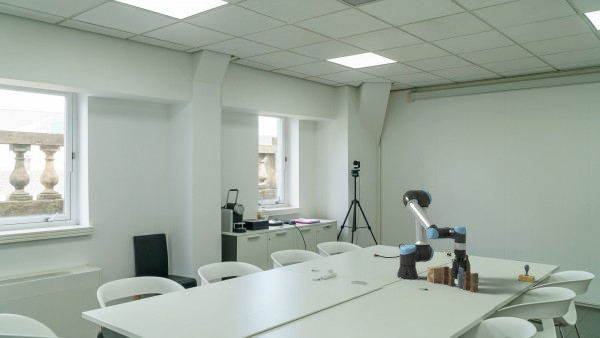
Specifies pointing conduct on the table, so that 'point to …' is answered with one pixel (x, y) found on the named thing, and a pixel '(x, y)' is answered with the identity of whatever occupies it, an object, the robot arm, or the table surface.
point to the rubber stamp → (526, 275)
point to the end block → (434, 274)
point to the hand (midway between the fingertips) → (459, 283)
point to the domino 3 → (460, 277)
